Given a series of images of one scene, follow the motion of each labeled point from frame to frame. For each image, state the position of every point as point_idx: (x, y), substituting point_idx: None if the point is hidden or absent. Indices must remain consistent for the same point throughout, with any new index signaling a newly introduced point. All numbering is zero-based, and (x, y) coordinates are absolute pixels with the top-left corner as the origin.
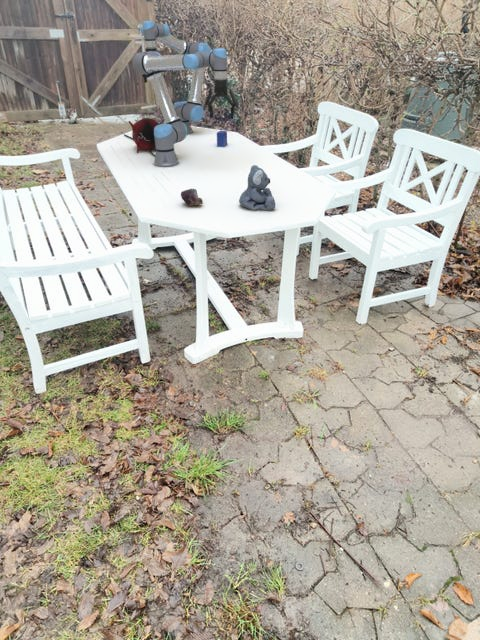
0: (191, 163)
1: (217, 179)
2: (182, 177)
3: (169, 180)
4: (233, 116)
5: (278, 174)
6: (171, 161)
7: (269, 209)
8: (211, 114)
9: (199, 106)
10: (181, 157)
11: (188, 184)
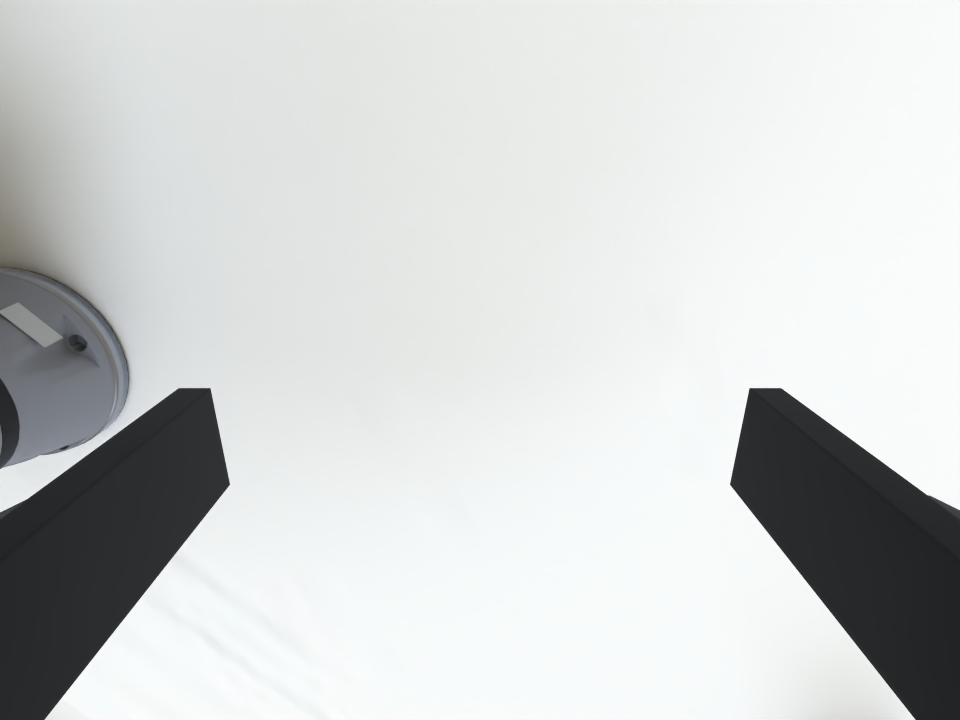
0: (212, 295)
1: (558, 566)
2: (338, 587)
3: (298, 644)
4: (807, 411)
5: (957, 371)
6: (96, 422)
7: None
8: (185, 511)
9: None
10: (4, 135)
11: (432, 668)
